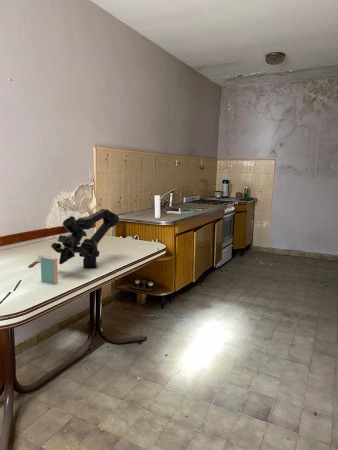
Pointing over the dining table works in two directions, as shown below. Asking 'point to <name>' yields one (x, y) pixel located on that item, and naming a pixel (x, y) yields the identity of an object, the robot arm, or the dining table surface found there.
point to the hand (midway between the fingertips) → (60, 263)
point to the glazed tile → (49, 270)
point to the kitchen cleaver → (36, 261)
